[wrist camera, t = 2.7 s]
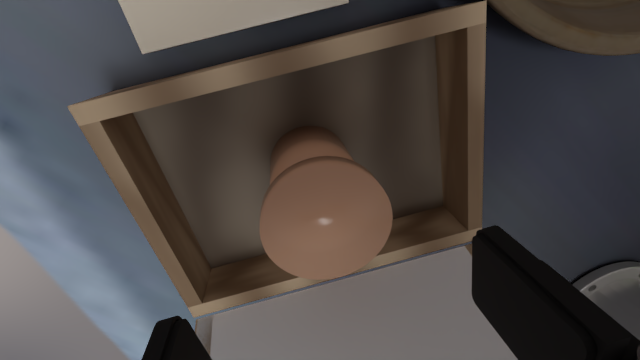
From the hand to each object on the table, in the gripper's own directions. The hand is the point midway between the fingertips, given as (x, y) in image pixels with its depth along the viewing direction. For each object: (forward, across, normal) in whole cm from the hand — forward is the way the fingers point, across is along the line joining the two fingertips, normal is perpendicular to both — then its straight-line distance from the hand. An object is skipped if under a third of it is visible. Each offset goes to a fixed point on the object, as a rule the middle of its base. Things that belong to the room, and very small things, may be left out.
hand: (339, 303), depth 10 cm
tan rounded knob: (+13, 0, 0) cm, 13 cm away
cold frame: (+14, 0, 0) cm, 14 cm away
